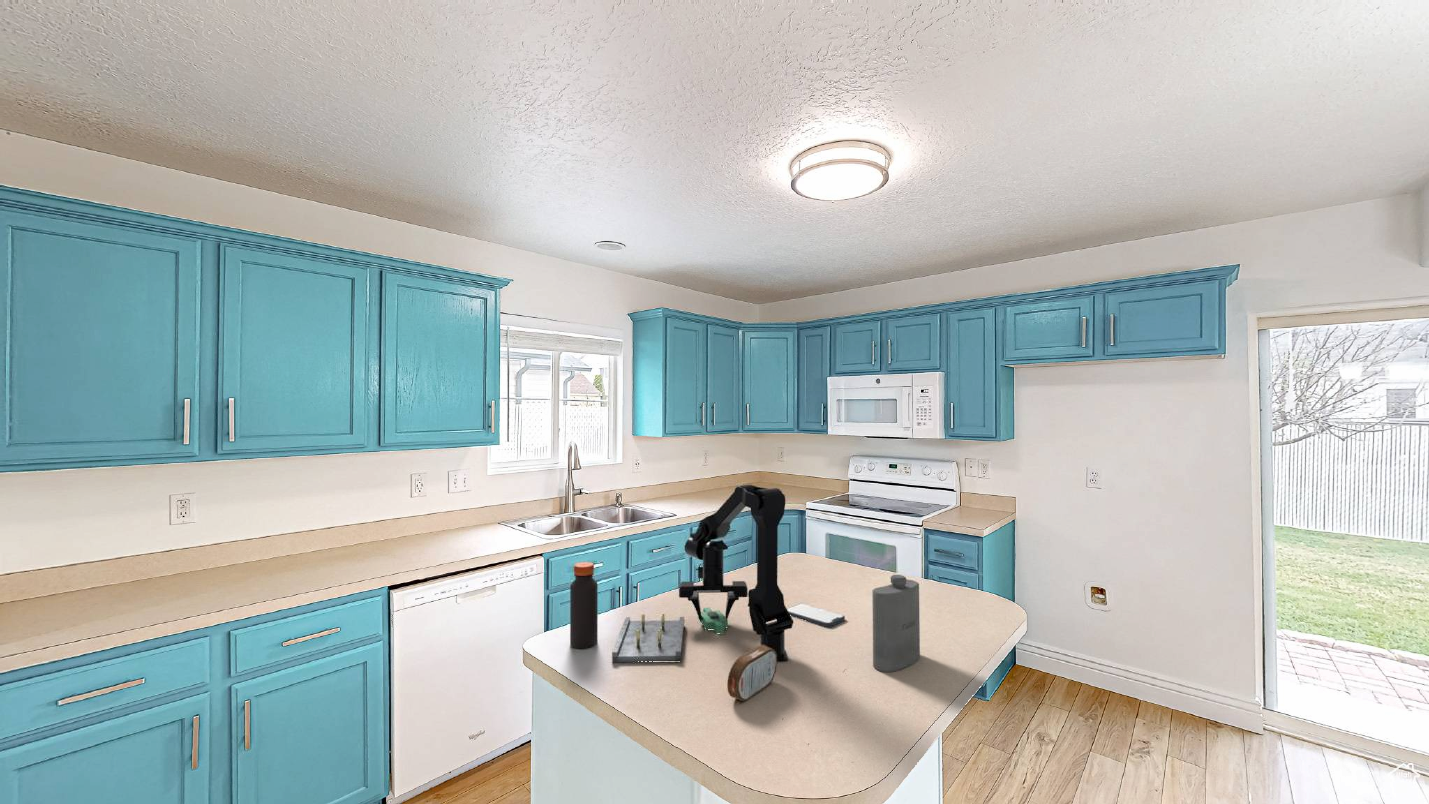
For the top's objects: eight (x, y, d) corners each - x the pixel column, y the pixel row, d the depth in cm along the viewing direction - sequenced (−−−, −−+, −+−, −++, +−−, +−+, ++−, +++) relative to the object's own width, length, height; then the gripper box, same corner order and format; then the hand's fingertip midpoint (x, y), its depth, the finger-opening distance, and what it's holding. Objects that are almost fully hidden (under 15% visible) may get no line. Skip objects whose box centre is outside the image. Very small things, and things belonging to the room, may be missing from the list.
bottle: (590, 650, 136) (590, 568, 136) (565, 648, 137) (565, 567, 138) (601, 639, 142) (601, 561, 143) (577, 637, 144) (577, 560, 144)
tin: (767, 676, 122) (767, 638, 123) (779, 680, 120) (779, 642, 121) (725, 704, 111) (725, 662, 111) (738, 709, 109) (738, 666, 109)
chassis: (680, 662, 129) (680, 639, 129) (612, 663, 129) (612, 639, 129) (684, 625, 151) (684, 606, 151) (625, 626, 151) (625, 606, 151)
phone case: (782, 615, 161) (828, 630, 149) (782, 610, 161) (828, 624, 149) (801, 608, 167) (846, 621, 155) (800, 602, 167) (846, 615, 155)
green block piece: (731, 633, 147) (731, 621, 147) (709, 636, 145) (709, 624, 145) (716, 615, 160) (716, 604, 160) (696, 617, 158) (696, 606, 158)
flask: (890, 676, 122) (889, 585, 123) (868, 666, 127) (867, 579, 127) (927, 657, 132) (926, 573, 132) (905, 649, 136) (904, 567, 136)
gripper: (744, 555, 161) (744, 609, 161) (680, 556, 161) (680, 610, 160) (747, 566, 150) (747, 624, 149) (678, 567, 149) (678, 625, 149)
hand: (713, 620), depth 152 cm, fingers closed on green block piece, 7 cm apart
